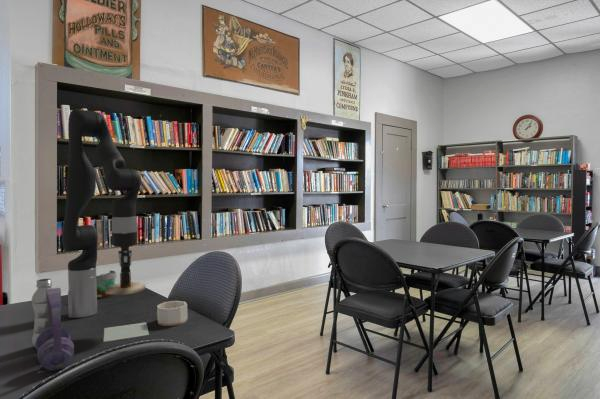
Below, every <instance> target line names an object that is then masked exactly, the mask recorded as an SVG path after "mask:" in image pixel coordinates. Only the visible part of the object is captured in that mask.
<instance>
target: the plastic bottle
mask: <svg viewBox="0 0 600 399" xmlns="http://www.w3.org/2000/svg"><path fill="white" fill-rule="evenodd" d="M52 285H53V283H52V278H40V279H37V280H36V285H35V286H36V288H37V289H36V290H35V292H34V293H33V295H32V297H31V304H32V309H33V317H34V318H33V319H34V323H33V333H32V337H31V342H32V345H33V347H34V348H35V349H36V340H37V338H38V336H39V335H40V334H41V333H42V332H43V331H44V330H46V329H48V305H47V296H46V289H53V287H52Z"/></svg>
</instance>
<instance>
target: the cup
mask: <svg viewBox="0 0 600 399" xmlns="http://www.w3.org/2000/svg"><path fill="white" fill-rule="evenodd" d="M156 310H157V311H156V314H157V316H156V317H157V324H158V325H159V326H163V327H170V326H171V327H173V326H178V325H181V324H184V323H186V322H188V319H189V317H188V304H187V302H186V301H181V300H171V301H164V302H161V303H159V304H157V305H156Z"/></svg>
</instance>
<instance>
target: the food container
mask: <svg viewBox="0 0 600 399" xmlns="http://www.w3.org/2000/svg"><path fill="white" fill-rule="evenodd" d="M117 277H118V275H117V273H116V270H109V272H107V273H102V274H100V275H96V281H97V298H102V299H107V298H106V297H108V298H111V296H112V297H113V295H111V294H107V293H105V288H106V287H108V286H111V285H114V284H116V278H117Z"/></svg>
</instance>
